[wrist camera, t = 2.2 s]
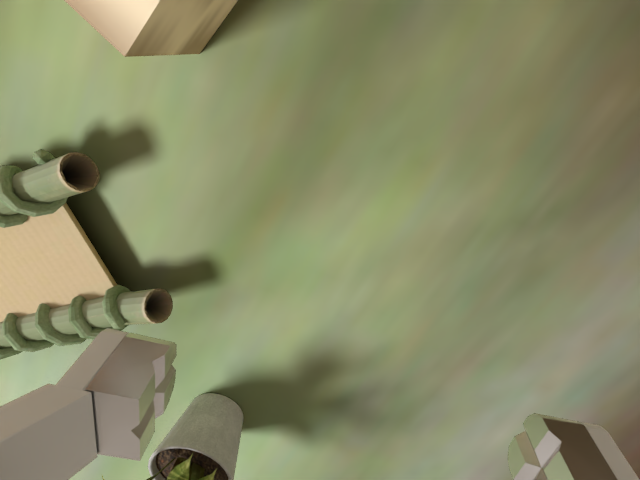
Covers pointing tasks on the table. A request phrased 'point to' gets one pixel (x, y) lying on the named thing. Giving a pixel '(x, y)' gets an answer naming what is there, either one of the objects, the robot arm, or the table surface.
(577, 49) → the table surface
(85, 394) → the robot arm
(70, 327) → the stretcher
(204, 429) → the house plant
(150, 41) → the tan stepped block
